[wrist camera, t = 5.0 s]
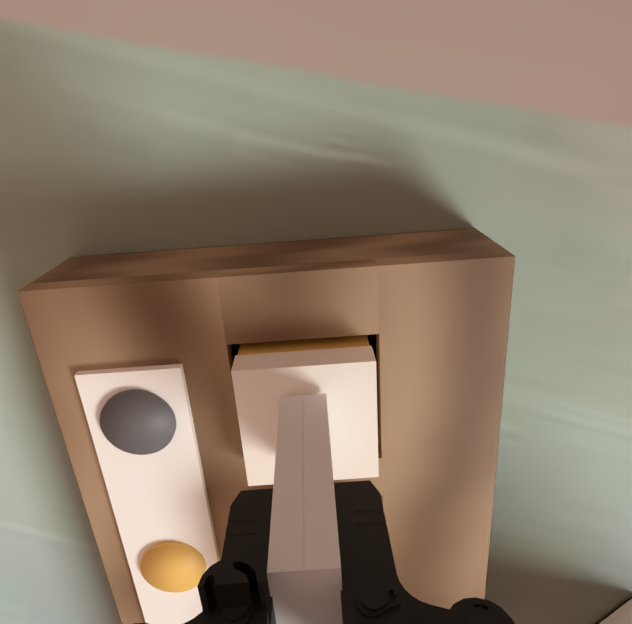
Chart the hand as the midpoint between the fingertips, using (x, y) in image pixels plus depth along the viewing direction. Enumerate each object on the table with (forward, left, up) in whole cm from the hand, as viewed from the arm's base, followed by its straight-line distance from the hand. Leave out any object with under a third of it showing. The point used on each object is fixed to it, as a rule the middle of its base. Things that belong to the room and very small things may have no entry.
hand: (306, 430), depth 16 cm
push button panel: (+6, +7, -2) cm, 9 cm away
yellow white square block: (0, 0, -4) cm, 4 cm away
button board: (+1, +7, -6) cm, 9 cm away
